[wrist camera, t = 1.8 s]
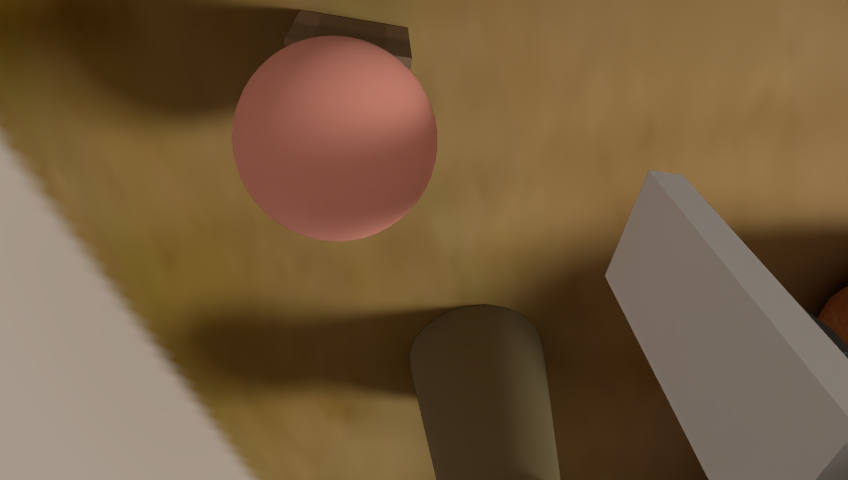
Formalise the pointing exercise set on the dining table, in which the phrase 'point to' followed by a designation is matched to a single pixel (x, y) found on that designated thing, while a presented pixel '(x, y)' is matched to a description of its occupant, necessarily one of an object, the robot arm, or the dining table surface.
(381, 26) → the hollow square tube
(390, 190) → the ball
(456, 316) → the cork
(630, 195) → the dining table surface
